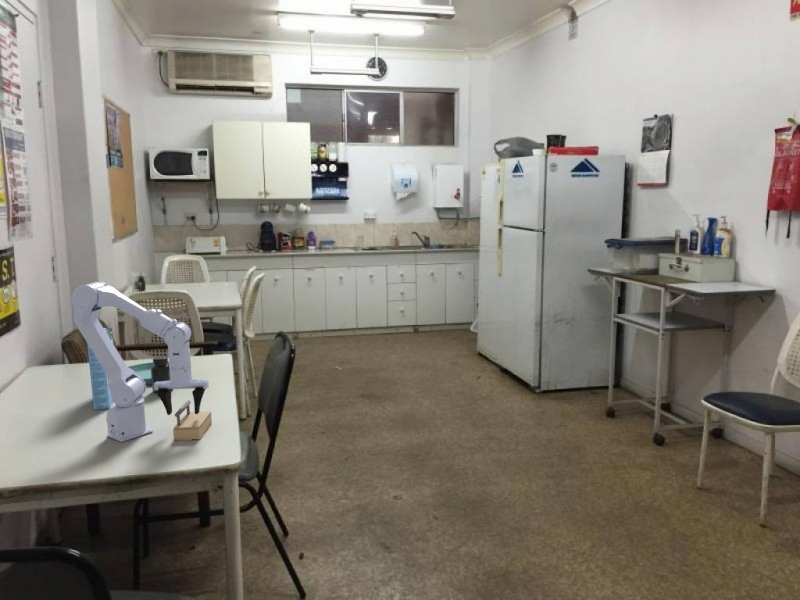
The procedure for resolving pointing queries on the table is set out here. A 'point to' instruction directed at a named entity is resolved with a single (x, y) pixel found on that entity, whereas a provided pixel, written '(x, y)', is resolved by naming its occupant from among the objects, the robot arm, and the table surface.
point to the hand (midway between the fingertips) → (183, 413)
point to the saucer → (143, 371)
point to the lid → (190, 418)
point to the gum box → (99, 379)
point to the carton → (192, 431)
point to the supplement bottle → (160, 371)
